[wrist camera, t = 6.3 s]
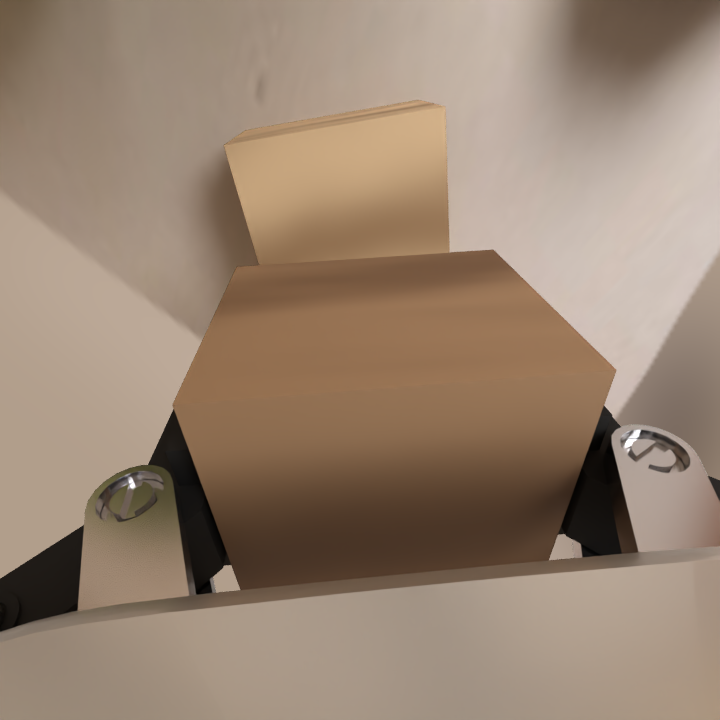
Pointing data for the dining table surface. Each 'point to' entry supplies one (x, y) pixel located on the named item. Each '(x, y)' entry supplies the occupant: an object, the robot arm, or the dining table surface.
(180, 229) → the dining table surface
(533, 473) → the walnut block
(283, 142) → the oak base
